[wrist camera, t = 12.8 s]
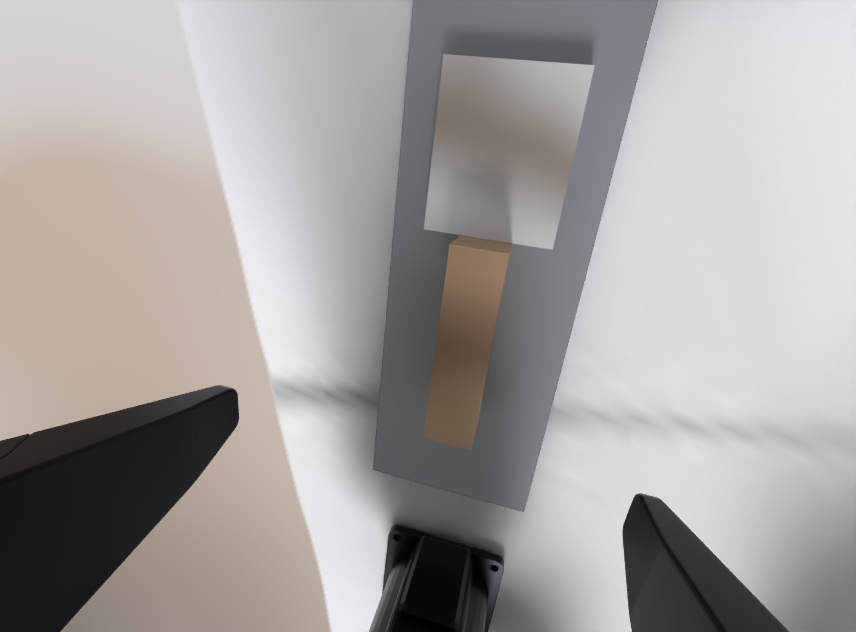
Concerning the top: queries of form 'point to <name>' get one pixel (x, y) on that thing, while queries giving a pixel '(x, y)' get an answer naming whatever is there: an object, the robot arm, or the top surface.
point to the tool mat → (529, 266)
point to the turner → (492, 207)
